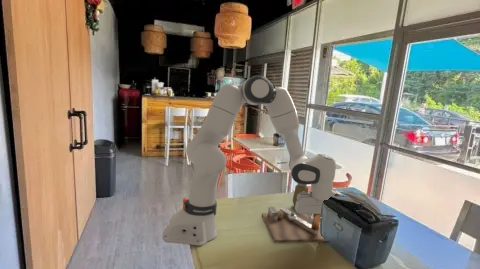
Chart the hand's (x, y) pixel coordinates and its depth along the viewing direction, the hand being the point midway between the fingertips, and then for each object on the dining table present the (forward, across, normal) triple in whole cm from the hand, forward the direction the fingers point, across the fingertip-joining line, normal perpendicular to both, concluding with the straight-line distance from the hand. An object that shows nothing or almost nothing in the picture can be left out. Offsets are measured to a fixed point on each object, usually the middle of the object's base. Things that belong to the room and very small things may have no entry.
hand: (316, 222), depth 114 cm
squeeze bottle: (+6, +4, +27) cm, 28 cm away
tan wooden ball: (+5, -12, +13) cm, 19 cm away
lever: (+5, -5, +8) cm, 10 cm away
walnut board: (+6, -7, +7) cm, 12 cm away
